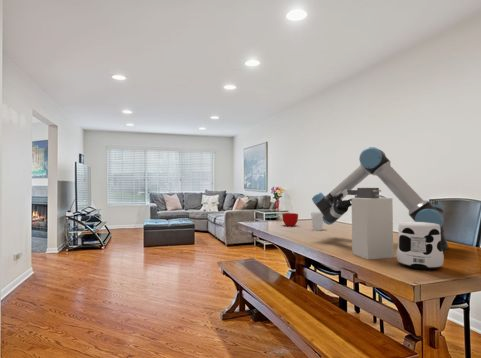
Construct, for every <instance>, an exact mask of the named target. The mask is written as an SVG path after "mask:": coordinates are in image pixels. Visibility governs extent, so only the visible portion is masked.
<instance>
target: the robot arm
mask: <svg viewBox="0 0 481 358" xmlns="http://www.w3.org/2000/svg"><path fill="white" fill-rule="evenodd" d="M358 160H359V163H360V165H359V166H358V167H357V168H356V169H354V170H353V171H352V172H351V173H350V174H349V175H348V176H347V177H345V179H343V180H342V181H341V182H340V183H339V184H338V185H336V186H335V188H333V189H332V190H331V191H330V192H329V193H327V194H326V195H324V193H322V192H318V193H317V194H315V195H314V196H313V197H312V198H311V200H312V202H313V204H314V205H315V206H316V208H317V210H319V211H320V212H321V213H322V214H323V217H322V218H323V224H324V223H325V224H326V225H329V226H330V225H333V224H335V222H337V221H338V220H339V219H340V218H341V217H342V216H343V215H344V214H346V213H347V212H348V211H349V208H350V207H352V198H349V199H346V200H345V199H344V198H345V197H346V196H348V195H347V194H348V192H347V190H354V188H356V186H357V185H358V184H360V183H361V182H363V181H364V180H365V179H366V178H367V177H368V176H369V175H372V176H377V177H378V179H379V180H380V181H381V182H382V183H383V184H384V185H385V186H386V187H387V189H389V191H391V192H392V194H393V195H394V196H395V197H396V198H397V199H398V201H400V202H401V203H402V205H403V206H405V208H406V209H407V211H408V216H410V218H411V219H412V221H413V222H427V223H435V224H439V225H440V229H441V233H440V234H441V249H442V251H444V250H448V249H449V243H448V241H447V239H446V238H447V237H446V235H445V226H444V225H445V220H444V217H445V216H444V215H445V214H444V213H445V210H444V206H443V205H441V204H440V205H439V204H432V203H431V202H430V201H429V200H425V199H423V198H422V197H420V195H419V194H418V193H417V192H416V191H415V189H413V187H411V185H409V184H408V182H407V181H406V180H405V179H403V177H402V176H401V175H400V174H399V173H398V172H397V171H396V170H395V169H394V168H393V167H392V165H391V160H390V159H389V158H388V157H387V155H386V154H385V152H384V151H382V150H381V149H379V148H377V147H375V146H371V147H370V146H369V147H366V148H365V149H363V150H362V151H361V153H360V155H359V159H358ZM343 199H344V200H343Z"/></svg>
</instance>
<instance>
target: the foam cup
mask: <svg viewBox="0 0 481 358" xmlns="http://www.w3.org/2000/svg"><path fill="white" fill-rule="evenodd" d="M310 216H311V221H312V222H311V224H312V230H313V231H323V224H324V221H323V218H322V217H323V214H322V213H321V211H320V212H319V211H316V212H315V211H313V212H310Z"/></svg>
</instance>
